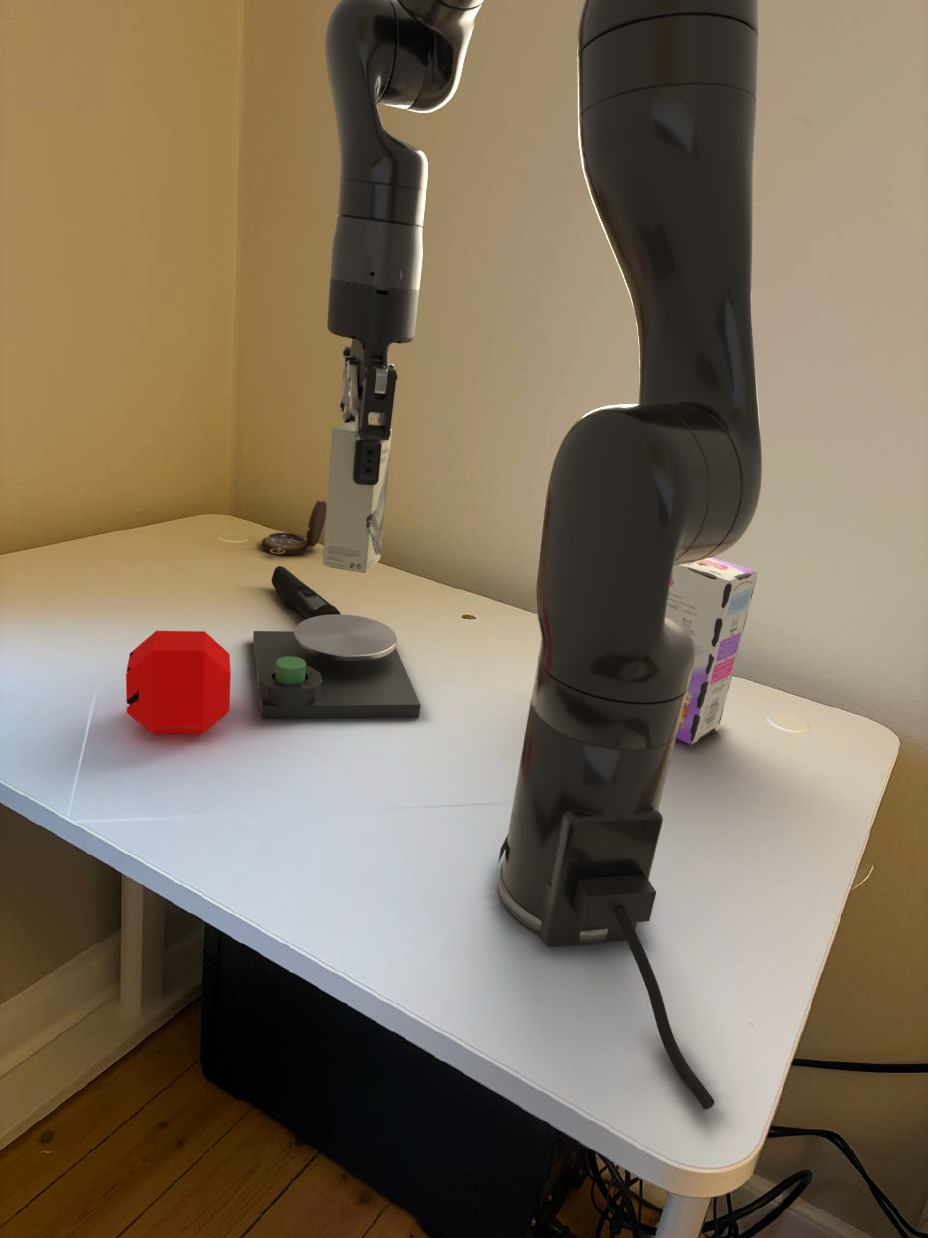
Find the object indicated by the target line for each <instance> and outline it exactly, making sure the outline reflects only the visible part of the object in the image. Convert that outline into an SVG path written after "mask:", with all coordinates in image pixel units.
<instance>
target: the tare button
mask: <svg viewBox="0 0 928 1238" xmlns="http://www.w3.org/2000/svg"><path fill="white" fill-rule="evenodd" d="M305 671H306V662H305V661H304V660H303V659H301V658H298V657H292V656H287V657H282V658H279V659H278V660H277V661H276V671H275V680H276V682H278V683H282V684H286V685H297V684H301V683H304V681H305Z"/></svg>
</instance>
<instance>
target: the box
mask: <svg viewBox="0 0 928 1238" xmlns="http://www.w3.org/2000/svg"><path fill="white" fill-rule="evenodd" d="M390 430H391V436H390V437H389V440H388V441H387V440H385V442H384V443H382V448H381V459H380V470H379V481H378V483H377V484H376V485H359V484H356V483H355V482H354V480H353V465H354V452H355V437H354V431H355V422H352V421H351V422H348V423H342V424H340V425H339V426H336V427H334V428H332V429H331V439H330V451H329V452H330V454H329V465H328V467H329V468H328V480H327V481H328V482H327V497H326V506H327V508H326V517H325V523H324V526H325V527H324V540H323V541H324V542H323V554H322V566H325V567H328V568H331V569H337V570H342V571H344V570H345V571H349V572H355V573H361V574H366V573H367V572H369V571H370V570H371V569H372V568H373V567H374V566H375V565H376V564H377V563H378V562H379V561H380V560H381V557H382V546H383V535H384V524H385V514H386V512H385V511H386V503H387V502H386V501H387V490H388V479H389V478H388V477H389V466H390V455H391V446H392V445H391V444H392V435H393V429H392V427H391V428H390Z"/></svg>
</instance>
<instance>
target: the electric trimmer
mask: <svg viewBox="0 0 928 1238" xmlns="http://www.w3.org/2000/svg"><path fill="white" fill-rule="evenodd" d="M271 585H272V586H273V588H274V590H275V592H276V593H277V594H278V596H279V597H280V599H281V600H282V602H283V603H284V605H285V606H286V607H287V608H290V609H293V610H297V611H298V612H299V613H300V614H301V616H303V617H304V618H305V620H306V619H309V618H312V617H316V616H321V615H332V614H342V613H341V612H340V610H339V609H338V608H337V607H336V606H335V605H332V604H331V603H330V602H329V601H327V600H326V599H325V598H323V597H322V596H321V595H320V594H318V593H317V592H316V591H314V589H312V588H311V587H310V586H308V585H307V584H305V583H304V582H303V581H301V580H300V579H299V578H298V577H297V576H295V574H293V573H292V572H291V571H289V570H288V569H287V568H286V567H285V566H282V565H278V566H276V567H275V568H274V570H273V573H272V576H271Z"/></svg>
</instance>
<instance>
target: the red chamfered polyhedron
mask: <svg viewBox="0 0 928 1238" xmlns="http://www.w3.org/2000/svg"><path fill="white" fill-rule="evenodd" d="M231 677H232V676H231V654H230V652H228V651H227V650H226V649H225V648H223V646H221V645H220V644H219V643H218V642H217V640H215V639H213V637H212V636H211V635H209V634H208V633H207V632H206V631H204V630H155V631H154V632H153V633H152V634H151V635H149V636H148V637H146V639H145V640H143V641H142V642H141V643H140V644H139V645H137V647H135V648H134V649H133V650H132V651H131V652H130V653H129V657H128V660H127V667H126V672H125V694H126V699H125V700H126V705H128V706H126V714H127V715H128V716H130V717H131V718H132V719H133V720H135V722H137V723H138V724H139V725H141V726H142V727H143V728H145V729H146V730H147V731H148V732H149V733H150V734H152V735H154V736H155V735H156V736H159V735H161V736H162V735H163V736H164V735H204V734H205V733H206V732H207V731H208V730H210V729H211V728H212V727H214V726H215V725H216V724H217V723H218V722H219V721H221V720H222V719H223V718H225V717H226V715H228V714H229V713H230V709H231V707H230V706H231Z"/></svg>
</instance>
